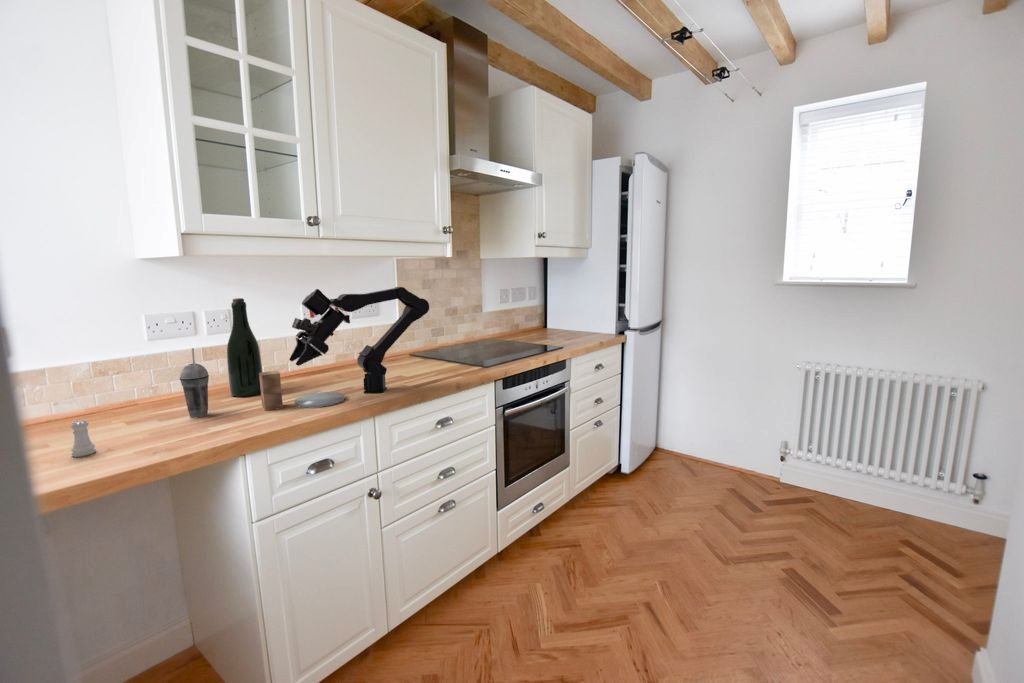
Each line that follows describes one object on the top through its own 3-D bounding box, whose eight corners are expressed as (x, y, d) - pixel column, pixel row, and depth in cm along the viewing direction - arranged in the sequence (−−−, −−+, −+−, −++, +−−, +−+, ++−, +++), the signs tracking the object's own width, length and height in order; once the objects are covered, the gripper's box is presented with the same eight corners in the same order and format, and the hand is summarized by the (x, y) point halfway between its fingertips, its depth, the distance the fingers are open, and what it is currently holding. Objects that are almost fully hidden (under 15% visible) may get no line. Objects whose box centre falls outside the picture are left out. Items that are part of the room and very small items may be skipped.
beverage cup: (180, 420, 140) (171, 351, 137) (189, 413, 147) (181, 347, 144) (208, 417, 142) (201, 350, 139) (216, 410, 149) (209, 346, 146)
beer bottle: (238, 390, 174) (229, 297, 169) (269, 389, 175) (260, 297, 170) (224, 398, 164) (213, 299, 159) (257, 397, 165) (247, 298, 160)
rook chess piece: (84, 450, 118) (79, 418, 117) (101, 450, 118) (96, 418, 116) (66, 457, 114) (60, 424, 112) (83, 457, 113) (78, 424, 112)
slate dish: (351, 395, 165) (351, 391, 165) (333, 407, 150) (333, 404, 150) (308, 395, 166) (307, 391, 166) (285, 408, 151) (285, 404, 151)
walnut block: (279, 404, 155) (276, 370, 154) (282, 408, 151) (279, 373, 150) (262, 407, 152) (259, 372, 151) (265, 411, 148) (261, 375, 147)
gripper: (300, 306, 162) (266, 343, 157) (314, 310, 147) (278, 350, 142) (326, 328, 168) (294, 364, 163) (343, 334, 153) (308, 373, 148)
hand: (293, 362), depth 154 cm, fingers open, 9 cm apart
